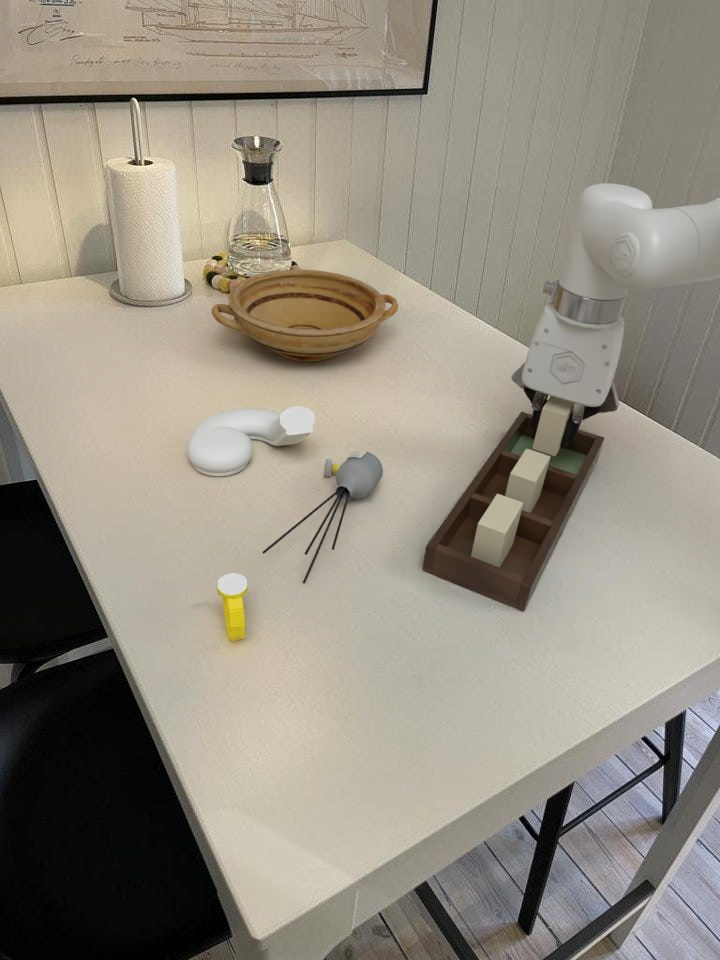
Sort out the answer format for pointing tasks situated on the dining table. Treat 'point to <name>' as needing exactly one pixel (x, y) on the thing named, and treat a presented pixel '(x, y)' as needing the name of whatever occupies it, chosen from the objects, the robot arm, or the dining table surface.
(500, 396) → the dining table surface
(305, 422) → the sculpture
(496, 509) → the block
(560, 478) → the tray
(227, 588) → the watch
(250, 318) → the ceramic bowl
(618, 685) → the dining table surface
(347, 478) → the reed diffuser
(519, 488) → the block
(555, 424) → the cream rectangular block
